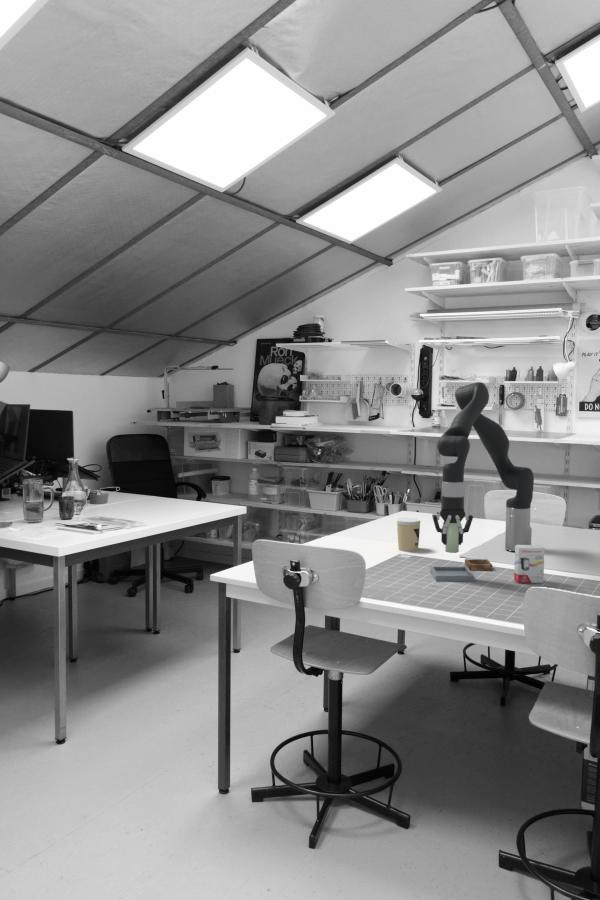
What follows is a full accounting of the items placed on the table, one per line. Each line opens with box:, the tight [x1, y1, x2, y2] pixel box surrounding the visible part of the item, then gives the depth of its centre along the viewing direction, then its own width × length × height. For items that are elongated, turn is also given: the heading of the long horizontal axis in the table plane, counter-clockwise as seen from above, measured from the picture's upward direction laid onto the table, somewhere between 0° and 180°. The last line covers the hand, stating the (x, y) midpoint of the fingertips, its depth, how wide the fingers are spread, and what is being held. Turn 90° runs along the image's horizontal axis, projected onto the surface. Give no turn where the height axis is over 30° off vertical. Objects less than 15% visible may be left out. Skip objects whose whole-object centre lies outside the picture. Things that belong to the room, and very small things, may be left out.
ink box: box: [513, 544, 545, 584], centre depth 235 cm, size 9×5×12 cm, turn 89°
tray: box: [430, 565, 475, 582], centre depth 242 cm, size 13×13×2 cm
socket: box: [464, 558, 493, 571], centre depth 254 cm, size 8×8×2 cm
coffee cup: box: [396, 517, 421, 553], centre depth 282 cm, size 9×9×12 cm
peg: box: [445, 523, 460, 554], centre depth 241 cm, size 4×4×10 cm
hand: (452, 544), depth 241 cm, fingers closed on peg, 4 cm apart
